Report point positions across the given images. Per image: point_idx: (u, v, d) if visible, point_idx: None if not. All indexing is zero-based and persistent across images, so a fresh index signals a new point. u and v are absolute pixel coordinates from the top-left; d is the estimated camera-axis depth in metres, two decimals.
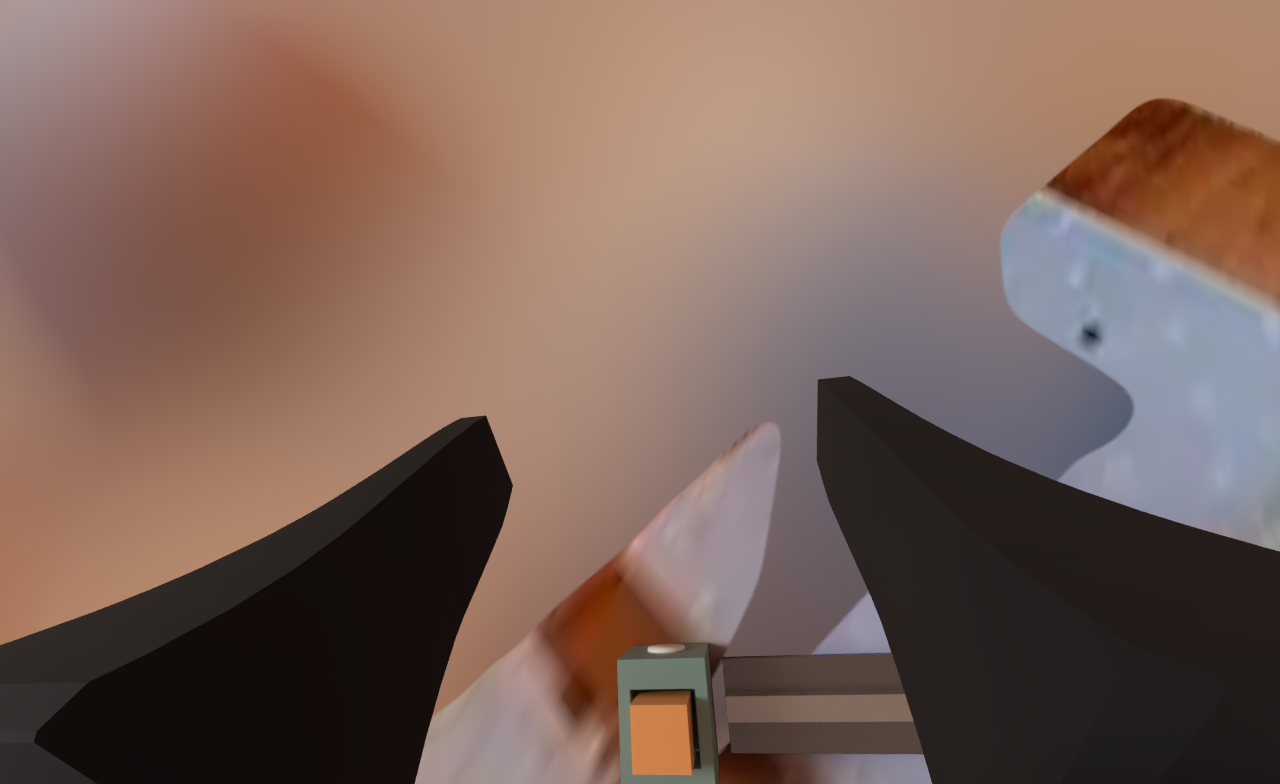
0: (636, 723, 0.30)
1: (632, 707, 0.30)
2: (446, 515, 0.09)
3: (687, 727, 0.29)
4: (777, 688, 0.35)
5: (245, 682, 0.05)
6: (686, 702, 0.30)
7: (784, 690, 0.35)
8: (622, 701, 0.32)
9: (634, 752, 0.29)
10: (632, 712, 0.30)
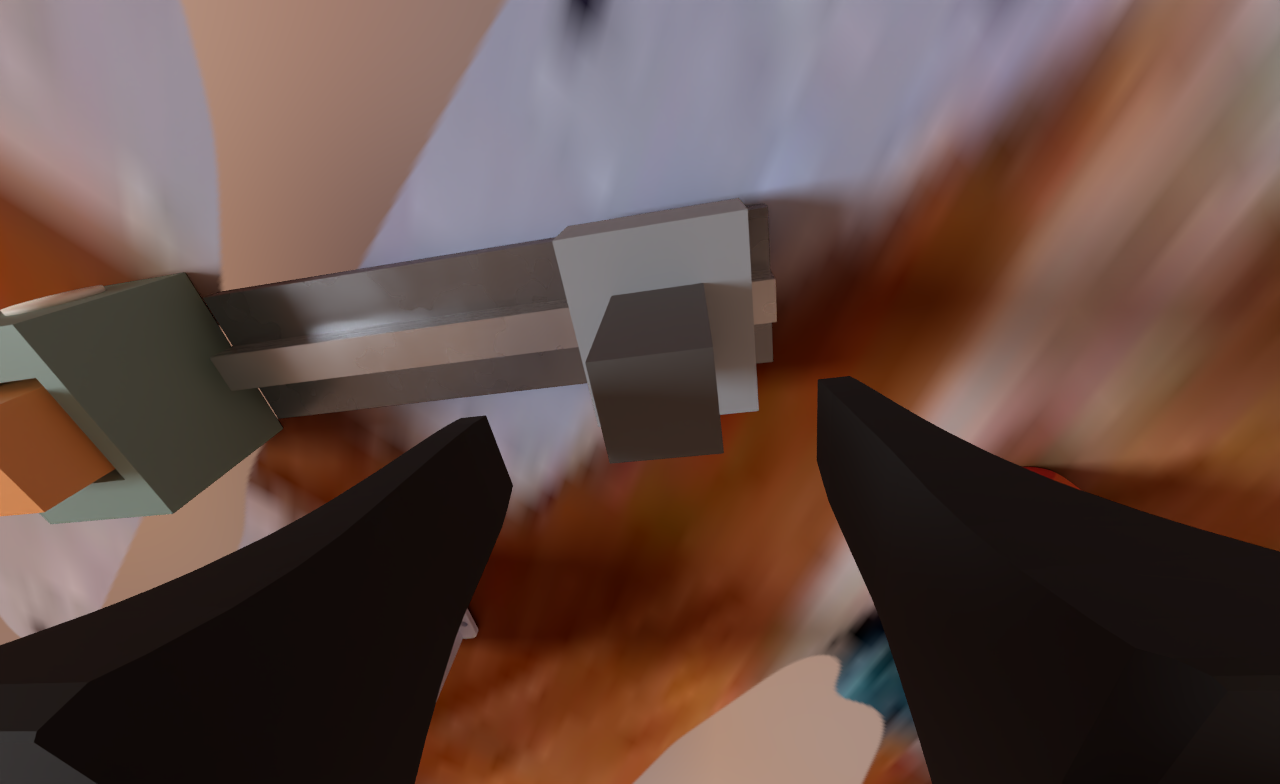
0: None
1: None
2: (446, 515, 0.09)
3: None
4: (308, 331, 0.20)
5: (244, 682, 0.05)
6: None
7: (319, 332, 0.20)
8: None
9: None
10: None
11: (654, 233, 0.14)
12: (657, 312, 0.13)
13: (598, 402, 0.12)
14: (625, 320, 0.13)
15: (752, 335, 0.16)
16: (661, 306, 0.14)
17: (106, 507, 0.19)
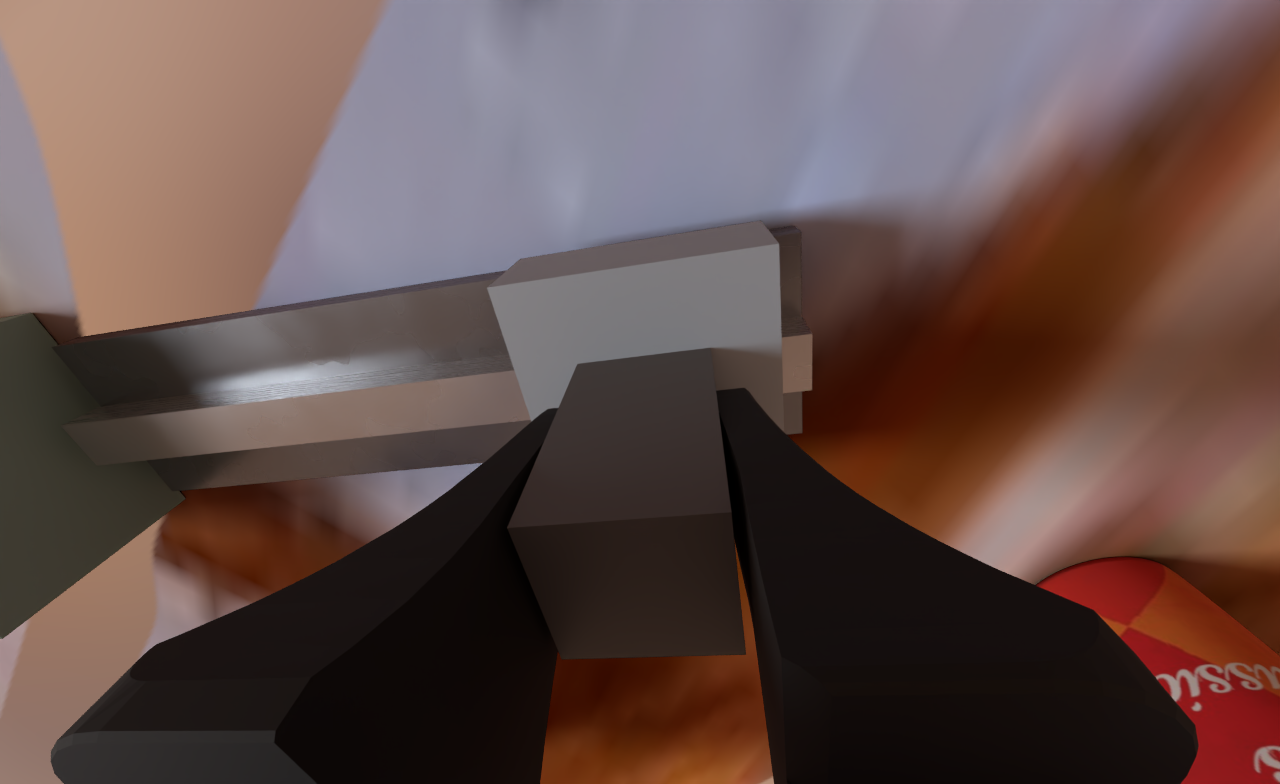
0: None
1: None
2: None
3: None
4: (192, 388, 0.15)
5: (421, 678, 0.05)
6: None
7: (206, 390, 0.15)
8: None
9: None
10: None
11: (637, 278, 0.10)
12: (639, 407, 0.09)
13: (535, 583, 0.07)
14: (589, 422, 0.08)
15: (780, 418, 0.11)
16: (646, 393, 0.09)
17: None
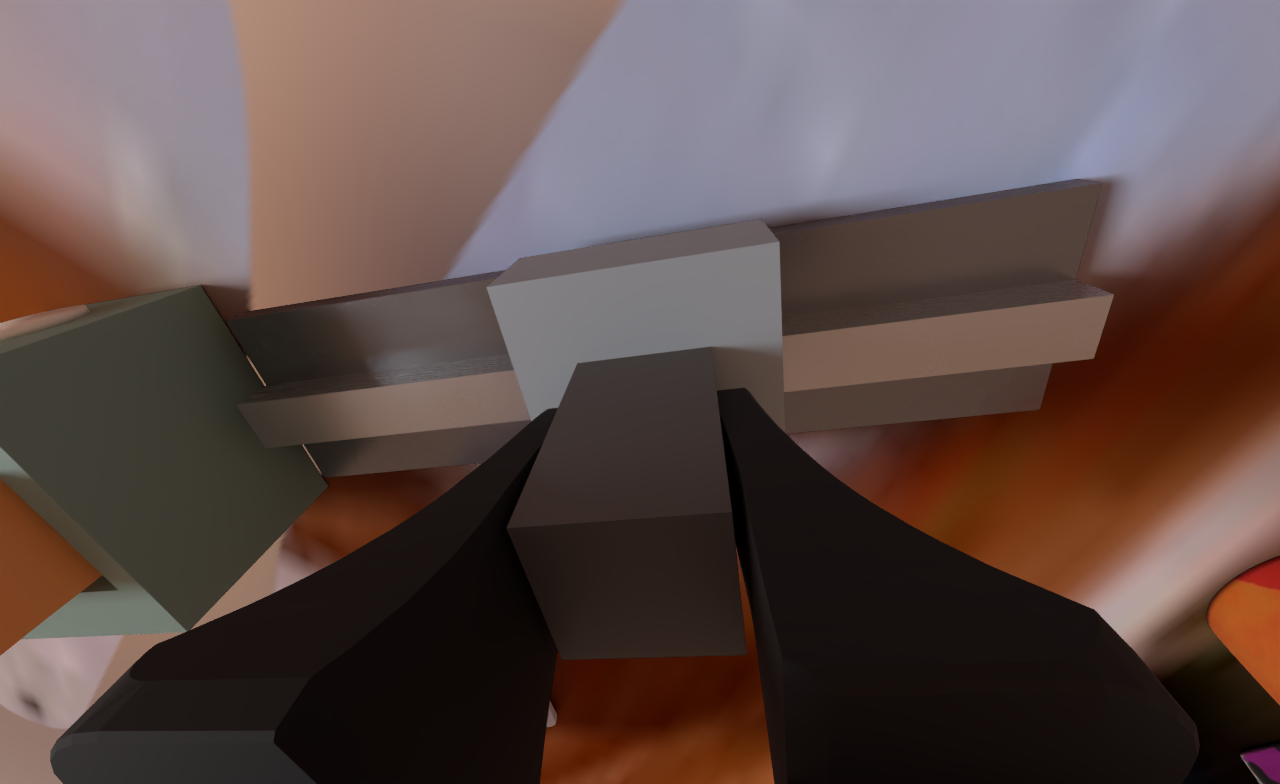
0: None
1: None
2: None
3: None
4: (372, 366, 0.14)
5: (420, 679, 0.05)
6: None
7: (387, 367, 0.14)
8: None
9: None
10: None
11: (637, 277, 0.10)
12: (639, 407, 0.09)
13: (535, 583, 0.07)
14: (588, 421, 0.08)
15: (781, 417, 0.11)
16: (646, 393, 0.09)
17: (93, 622, 0.13)
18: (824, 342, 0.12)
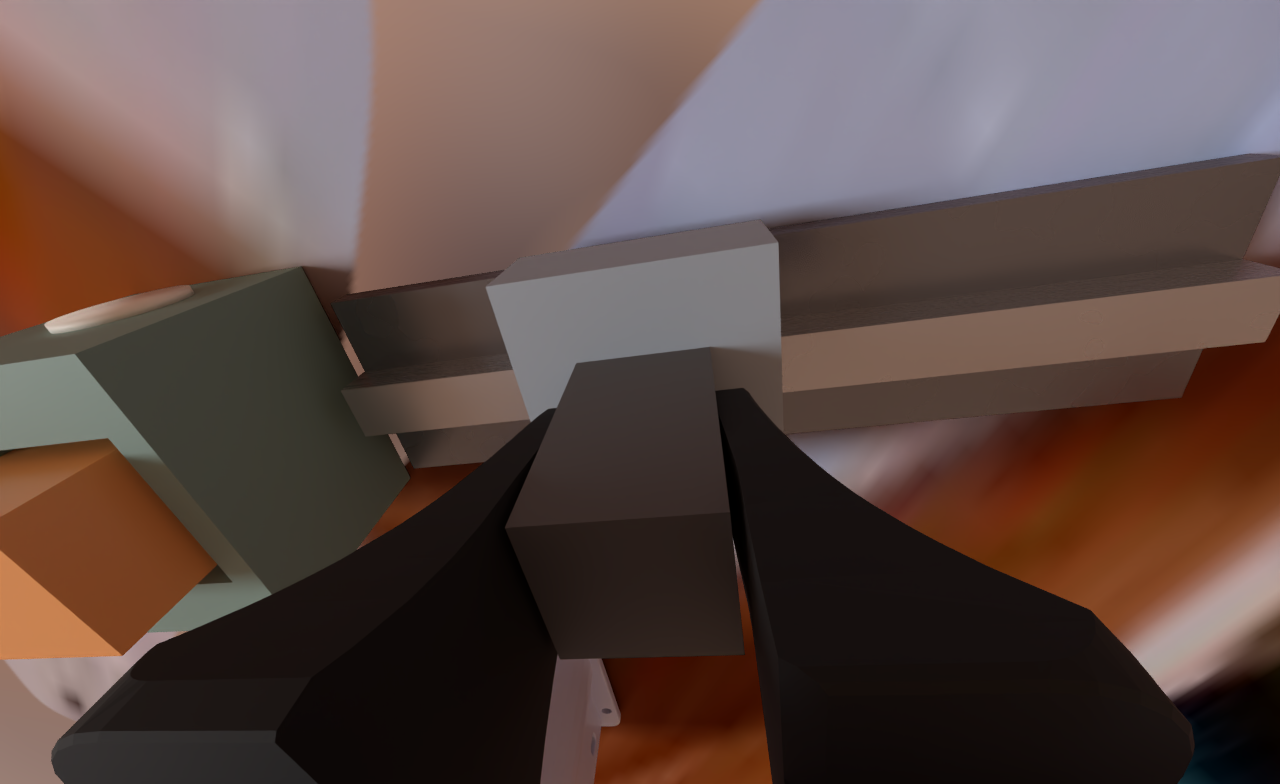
0: None
1: None
2: None
3: (29, 577, 0.09)
4: (479, 351, 0.14)
5: (421, 678, 0.05)
6: (14, 508, 0.09)
7: (495, 352, 0.14)
8: None
9: None
10: None
11: (636, 277, 0.10)
12: (638, 406, 0.09)
13: (533, 583, 0.07)
14: (587, 421, 0.08)
15: (780, 417, 0.11)
16: (645, 393, 0.09)
17: (198, 616, 0.13)
18: (979, 324, 0.11)
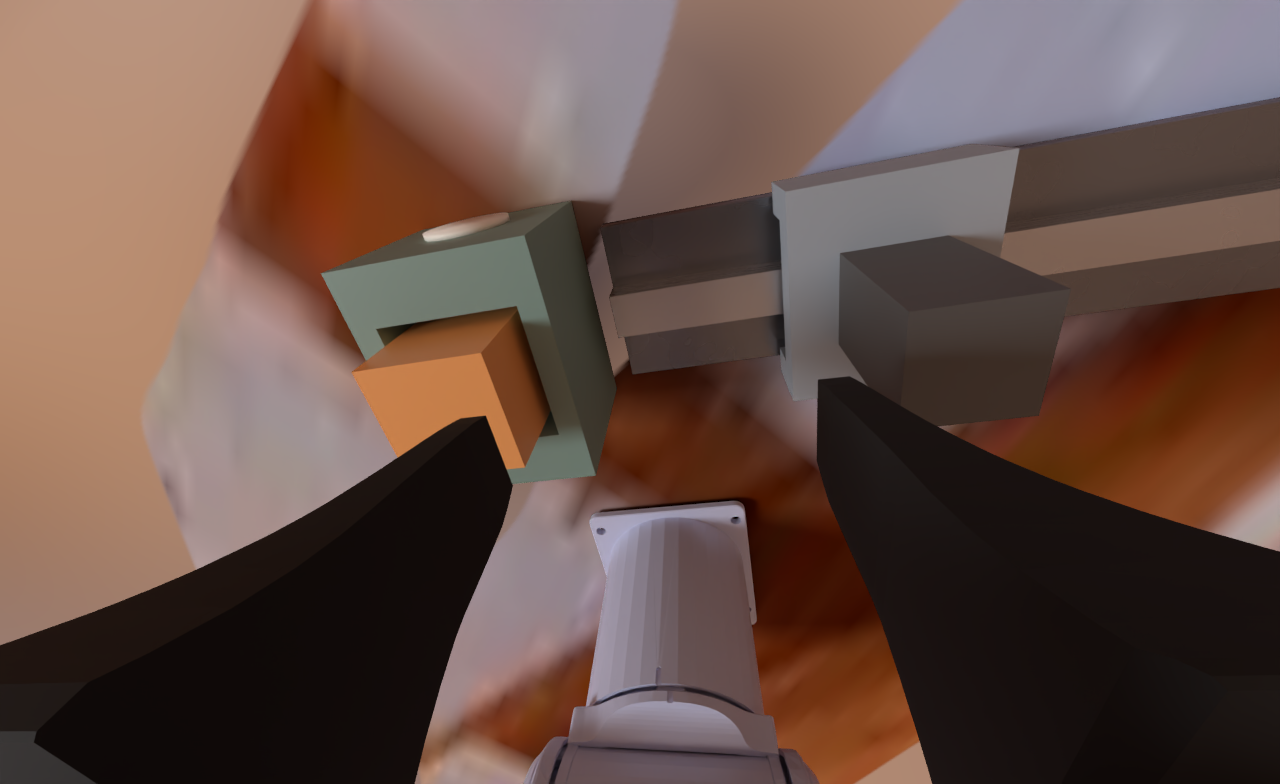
0: (381, 402, 0.13)
1: (359, 375, 0.12)
2: (446, 515, 0.09)
3: (495, 394, 0.12)
4: (713, 265, 0.17)
5: (245, 682, 0.05)
6: (486, 344, 0.12)
7: (726, 266, 0.17)
8: (370, 352, 0.14)
9: (399, 448, 0.13)
10: (364, 384, 0.12)
11: (904, 179, 0.13)
12: (931, 263, 0.12)
13: (909, 358, 0.10)
14: (898, 273, 0.12)
15: None
16: (926, 258, 0.12)
17: (515, 469, 0.16)
18: (1141, 221, 0.15)
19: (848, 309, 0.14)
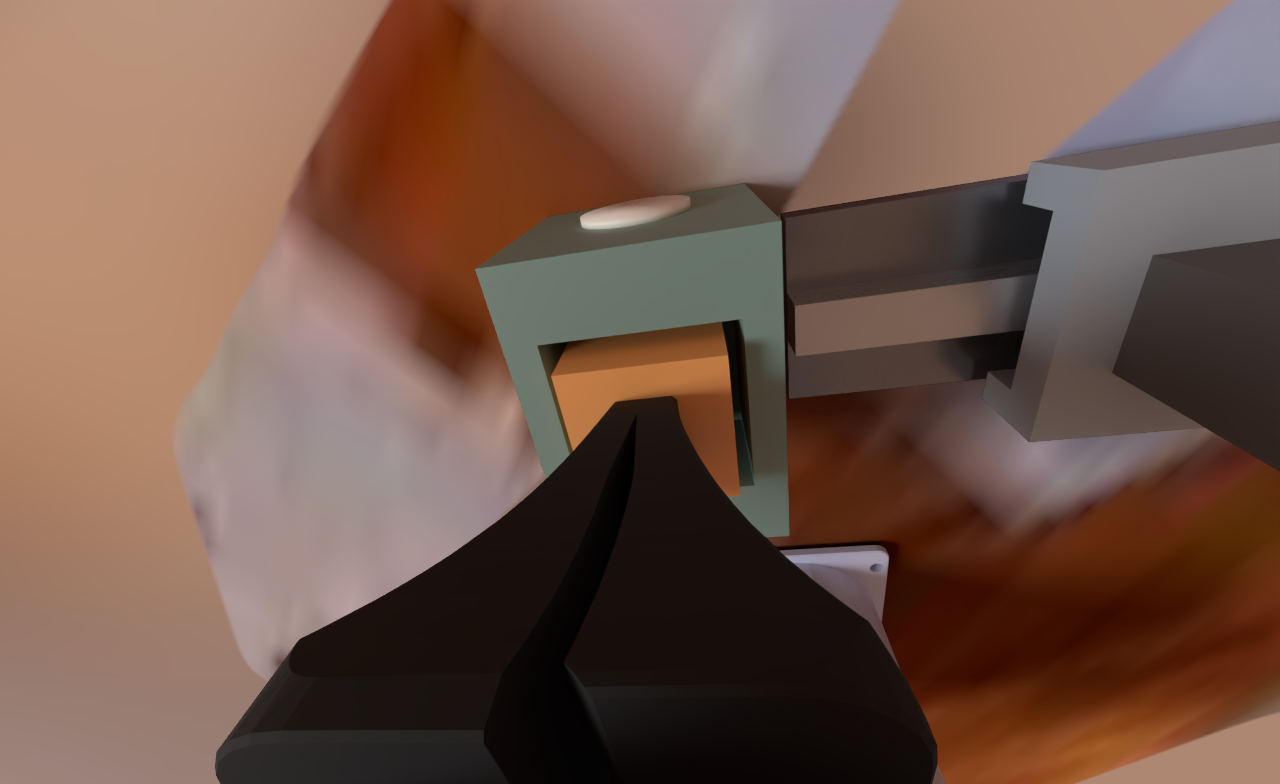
0: (579, 414, 0.10)
1: (560, 380, 0.10)
2: None
3: (730, 407, 0.10)
4: (922, 268, 0.14)
5: (567, 676, 0.04)
6: (723, 344, 0.10)
7: (938, 270, 0.14)
8: (523, 375, 0.11)
9: None
10: (563, 391, 0.10)
11: (1278, 156, 0.10)
12: None
13: None
14: None
15: None
16: None
17: None
18: None
19: (1167, 330, 0.11)
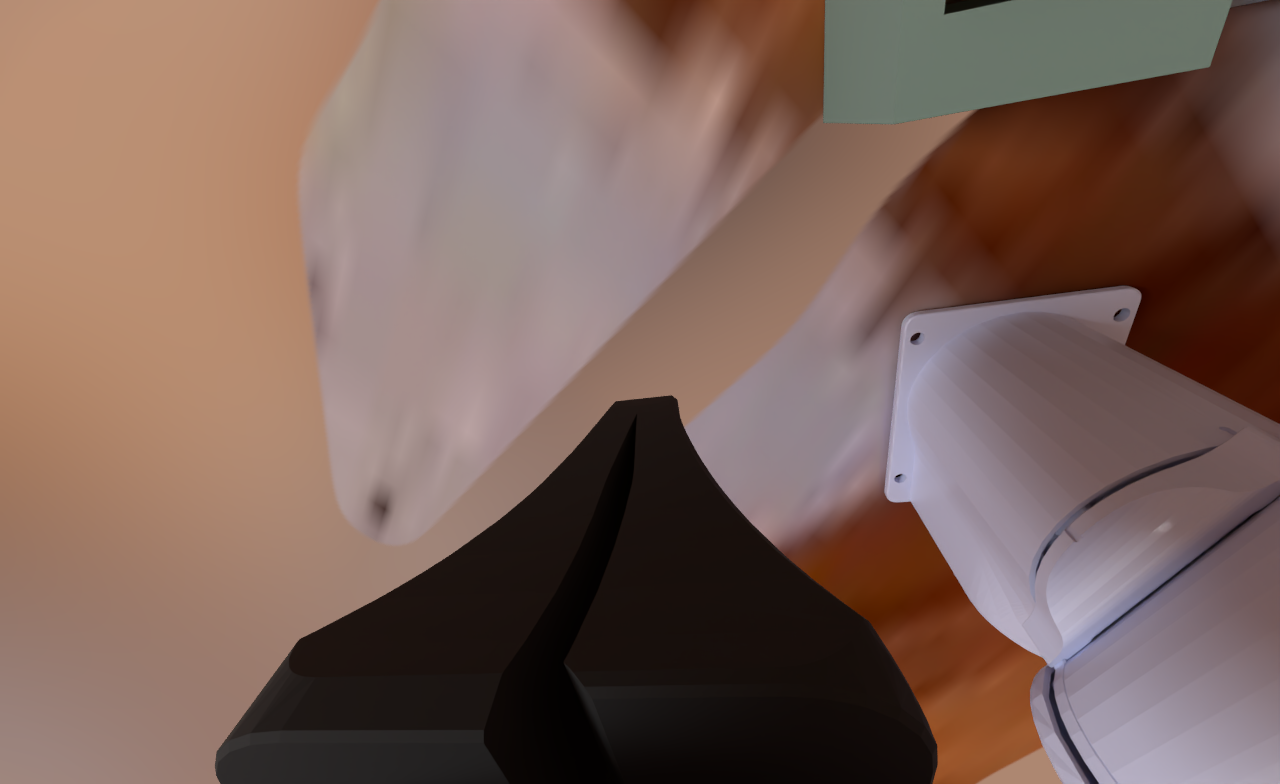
0: None
1: None
2: None
3: None
4: None
5: (566, 675, 0.04)
6: None
7: None
8: None
9: None
10: None
11: None
12: None
13: None
14: None
15: None
16: None
17: (1068, 60, 0.10)
18: None
19: None
